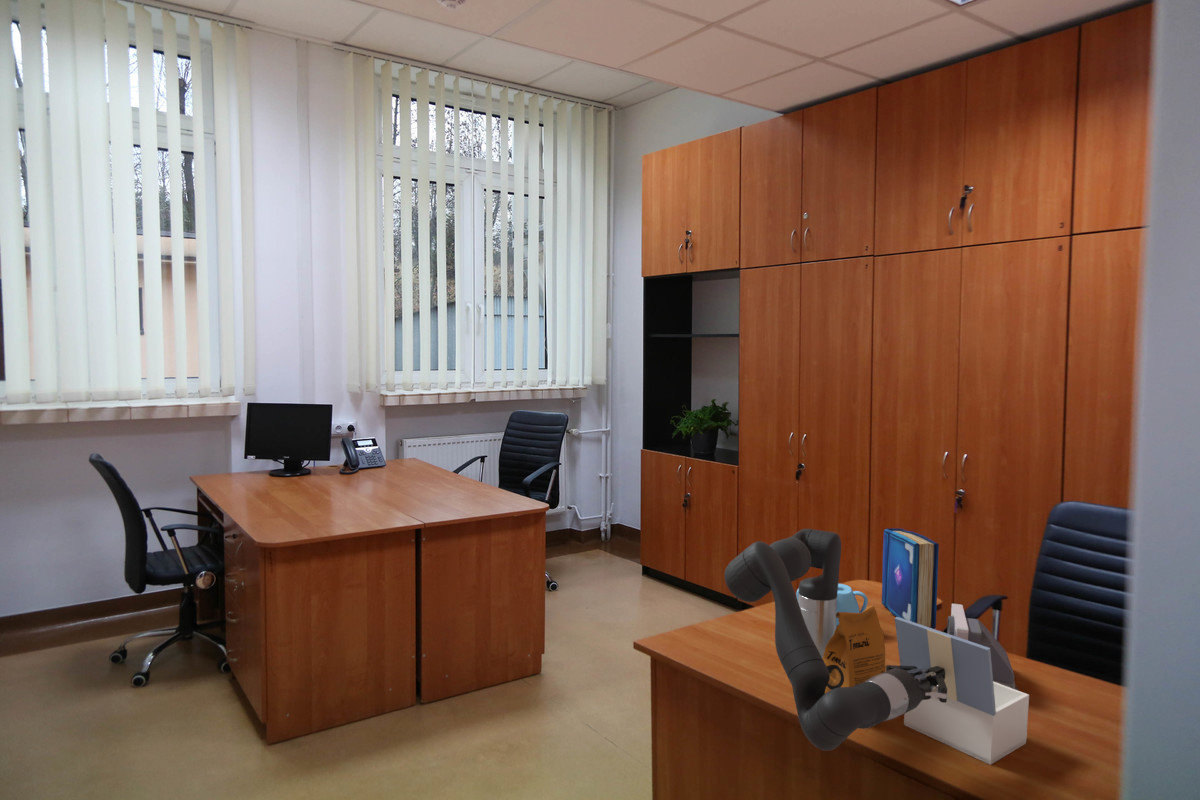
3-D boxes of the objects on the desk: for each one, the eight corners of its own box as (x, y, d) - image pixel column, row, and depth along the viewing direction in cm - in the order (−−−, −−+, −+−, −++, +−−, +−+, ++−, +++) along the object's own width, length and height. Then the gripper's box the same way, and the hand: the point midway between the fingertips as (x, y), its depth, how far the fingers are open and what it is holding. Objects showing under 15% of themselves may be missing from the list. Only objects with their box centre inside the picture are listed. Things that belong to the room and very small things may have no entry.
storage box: (990, 764, 142) (993, 713, 141) (903, 724, 157) (906, 678, 156) (1026, 743, 150) (1029, 694, 149) (940, 707, 165) (943, 662, 164)
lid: (996, 713, 141) (993, 716, 140) (904, 676, 156) (901, 678, 156) (990, 648, 138) (987, 650, 137) (896, 616, 153) (894, 618, 153)
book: (877, 604, 230) (881, 524, 228) (899, 604, 231) (903, 524, 229) (912, 631, 209) (916, 543, 207) (936, 631, 209) (941, 543, 207)
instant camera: (928, 653, 195) (931, 596, 193) (1019, 672, 184) (1023, 612, 183) (916, 684, 176) (919, 622, 175) (1016, 707, 166) (1020, 641, 165)
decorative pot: (824, 642, 200) (826, 592, 199) (788, 621, 215) (790, 574, 214) (873, 635, 206) (875, 586, 205) (835, 614, 221) (837, 569, 220)
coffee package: (813, 703, 166) (817, 605, 164) (856, 693, 171) (860, 598, 169) (845, 724, 157) (849, 621, 155) (890, 713, 162) (894, 613, 160)
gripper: (923, 688, 131) (975, 665, 141) (858, 662, 142) (910, 642, 152) (921, 730, 131) (973, 704, 141) (856, 700, 142) (909, 678, 152)
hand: (940, 672), depth 147 cm, fingers closed
